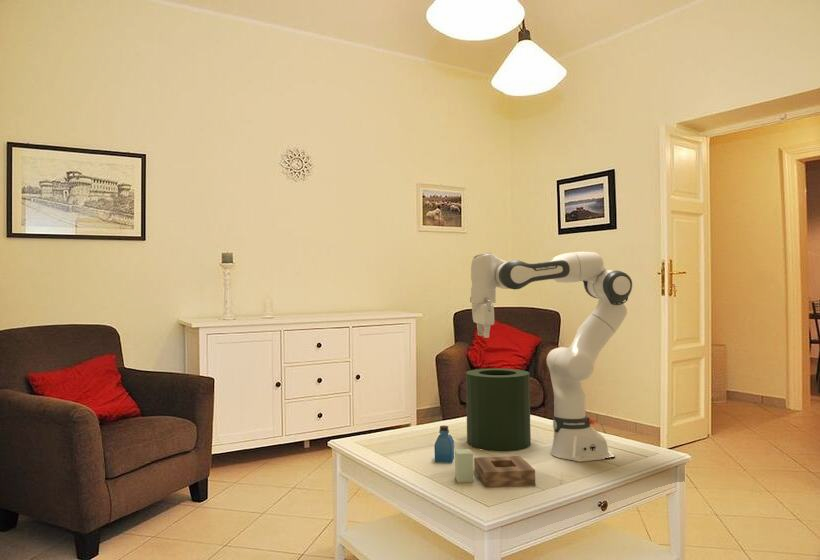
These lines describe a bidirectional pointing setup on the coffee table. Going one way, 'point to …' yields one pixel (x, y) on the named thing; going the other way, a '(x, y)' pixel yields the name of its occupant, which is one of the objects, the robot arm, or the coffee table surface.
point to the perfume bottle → (444, 446)
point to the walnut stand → (504, 471)
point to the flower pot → (498, 409)
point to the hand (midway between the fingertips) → (483, 336)
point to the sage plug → (464, 465)
